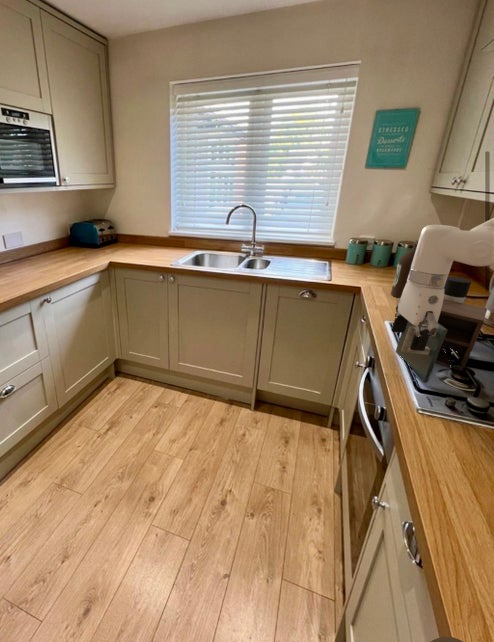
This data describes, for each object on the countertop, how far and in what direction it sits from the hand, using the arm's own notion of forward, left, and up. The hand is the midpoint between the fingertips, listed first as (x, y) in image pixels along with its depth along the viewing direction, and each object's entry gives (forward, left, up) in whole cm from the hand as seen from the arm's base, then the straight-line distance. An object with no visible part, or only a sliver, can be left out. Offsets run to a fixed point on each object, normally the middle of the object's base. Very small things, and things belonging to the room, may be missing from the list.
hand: (406, 340), depth 86 cm
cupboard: (-17, -15, -11) cm, 25 cm away
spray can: (-27, -30, -11) cm, 41 cm away
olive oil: (-32, -68, -11) cm, 76 cm away
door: (-3, -5, -11) cm, 12 cm away
